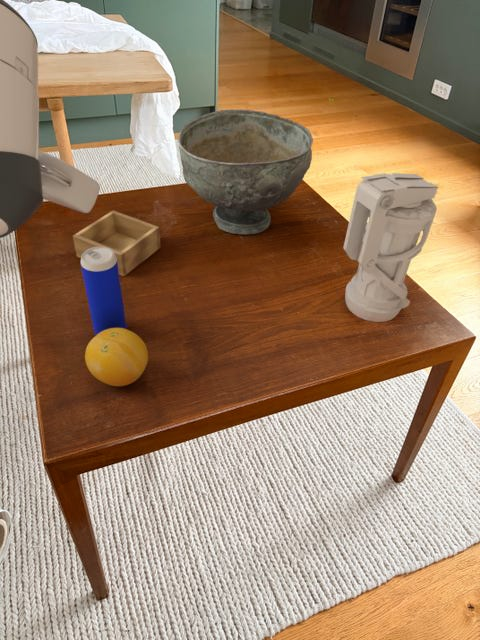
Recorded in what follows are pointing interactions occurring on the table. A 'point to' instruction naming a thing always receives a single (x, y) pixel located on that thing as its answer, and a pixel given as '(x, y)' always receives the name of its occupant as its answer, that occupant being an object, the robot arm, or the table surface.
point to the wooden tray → (120, 239)
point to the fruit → (116, 356)
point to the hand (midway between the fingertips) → (57, 193)
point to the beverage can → (103, 288)
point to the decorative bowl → (244, 164)
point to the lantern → (386, 241)
